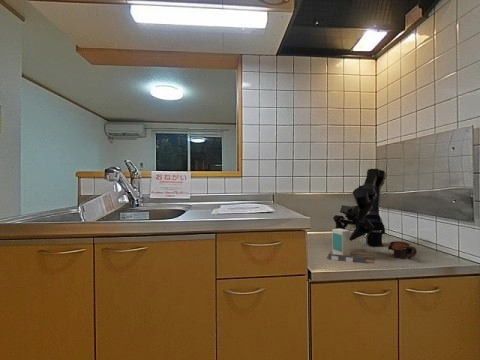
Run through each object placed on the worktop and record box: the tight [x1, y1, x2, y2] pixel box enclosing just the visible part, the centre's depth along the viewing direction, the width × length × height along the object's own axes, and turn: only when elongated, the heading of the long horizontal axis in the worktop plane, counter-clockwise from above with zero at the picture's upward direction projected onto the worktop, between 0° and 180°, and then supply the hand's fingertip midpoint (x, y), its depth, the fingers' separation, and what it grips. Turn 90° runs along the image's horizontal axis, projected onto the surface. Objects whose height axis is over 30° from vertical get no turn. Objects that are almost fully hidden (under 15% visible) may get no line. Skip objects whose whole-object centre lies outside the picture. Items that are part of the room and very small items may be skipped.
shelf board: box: [326, 250, 375, 264], centre depth 119 cm, size 12×18×1 cm
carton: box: [331, 228, 351, 256], centre depth 122 cm, size 4×6×11 cm
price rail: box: [327, 253, 367, 264], centre depth 114 cm, size 1×14×3 cm, turn 65°
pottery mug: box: [387, 240, 417, 260], centre depth 119 cm, size 12×10×8 cm
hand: (342, 238), depth 122 cm, fingers open, 9 cm apart
